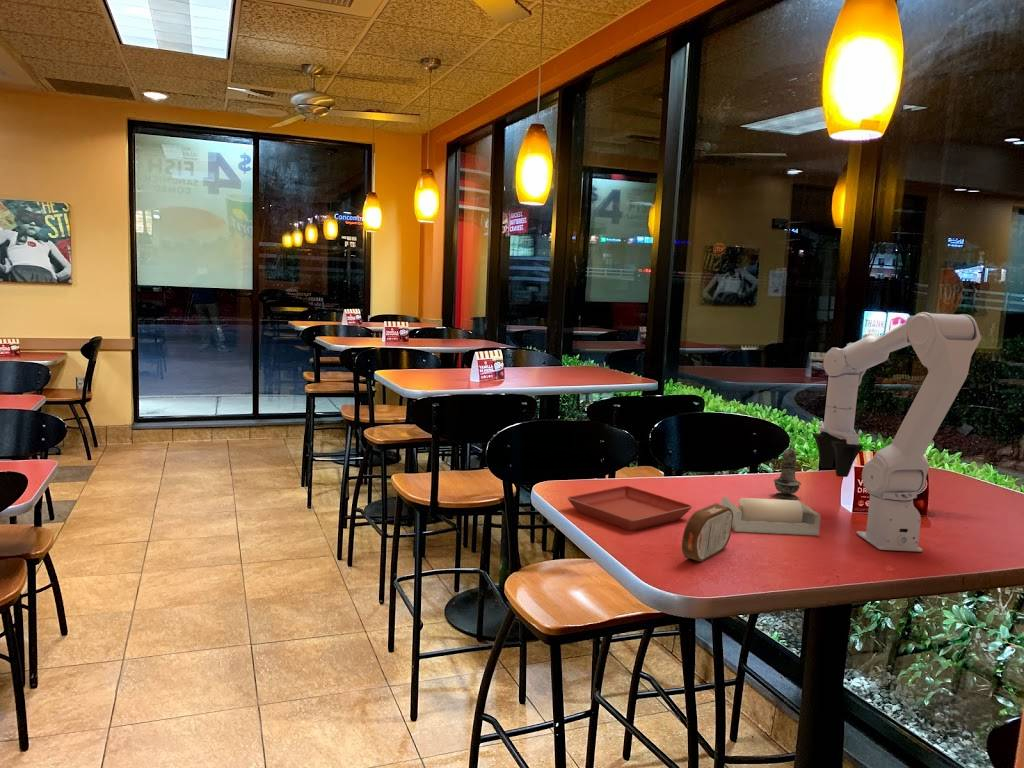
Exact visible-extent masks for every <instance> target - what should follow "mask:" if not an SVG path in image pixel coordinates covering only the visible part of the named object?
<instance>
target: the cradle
mask: <svg viewBox="0 0 1024 768" xmlns="http://www.w3.org/2000/svg"><path fill="white" fill-rule="evenodd" d="M799 501H800V503H801V505H802V511H803V517H802V522H801V523H788V522H766V521H744V520H741V517H742V511H741V510H740V509H739V508H738V505H737V506H736V504H735V503H733V502H732V501H731V500H730V498H728V497H723V496H722V497H721V504H720V505H722V506H726V507H728V508H730V509H731V510H732V512H733V521H732V528H731V530H733V532H734V533H749V534H750V533H752V534H753V533H755V534H770V535H771V534H774V535H777V534H778V535H797V536H799V535H800V536H814V537H815V536H819V535H820V526H821V514H820V513H818V512H817V511H815V510H814V509H813V508H811V507H810V506H808V505H807V504H805V503H804V502H803V501H802V500H799ZM819 537H820V536H819Z"/></svg>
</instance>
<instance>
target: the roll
mask: <svg viewBox="0 0 1024 768" xmlns="http://www.w3.org/2000/svg"><path fill="white" fill-rule="evenodd" d="M800 501H801V500H799V499H798V500H782V499H778V498H776V499H775V498H771V499H770V498H755V497H754V498H753V497H752V498H751V497H741V498H740V499H739V501H738V503H737V504H738V505H737V507H738V508H739V509H740V510H741V511H742V517H741V520H744V521H766V522H788V523H801V522H802V517H803V511H802V505H801V503H800Z"/></svg>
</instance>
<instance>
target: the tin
mask: <svg viewBox="0 0 1024 768" xmlns="http://www.w3.org/2000/svg"><path fill="white" fill-rule="evenodd" d="M732 521H733V512H732V510H731V509H730V508H728V507H726V506H722V505H721V504H720V503H713V504H710V505H708V506H705V507H704V508H703V507H702V508H700V509H697V510H695V511H694V512H693V513H692V514H691V515H690V517H689V519H688V521H687V523H686V525H685V527H684V531H683V535H682V540H681V550H682V551H681V552H682V554H683V557H684V558H686V559H690V560H692V561H696V562H699V563H700V562H704V561H706V560H708V559H709V558H711V557H712V558H713V556H715V555H717V554H719V553H721V552H723V551H724V549H725V548H726V546H727V545H728V543H729V541H730V539H731V535H732V534H731V532H732Z"/></svg>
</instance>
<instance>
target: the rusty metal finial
mask: <svg viewBox="0 0 1024 768" xmlns="http://www.w3.org/2000/svg"><path fill="white" fill-rule="evenodd" d="M797 455H798V454H797V452H796V451H795V450H794V449H793V446H792V445H790V446H789V448H787V449H785V450H783V455H782V462H781V464H780V466H781V472H780V475H779V477H778V478H775V479H773V482H774V487H775V489H776V491H778V492H776V493H775V494H773V497H774V498H776V499H778V500H798V501H799V497H798V496H796V495H795V493H797V492H798V491H799V490H800V489H799V488H800V486H801V485H802V483H801V482H800V481H798V480H797V478H796V470H797V469H796V468H798V466H797Z"/></svg>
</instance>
